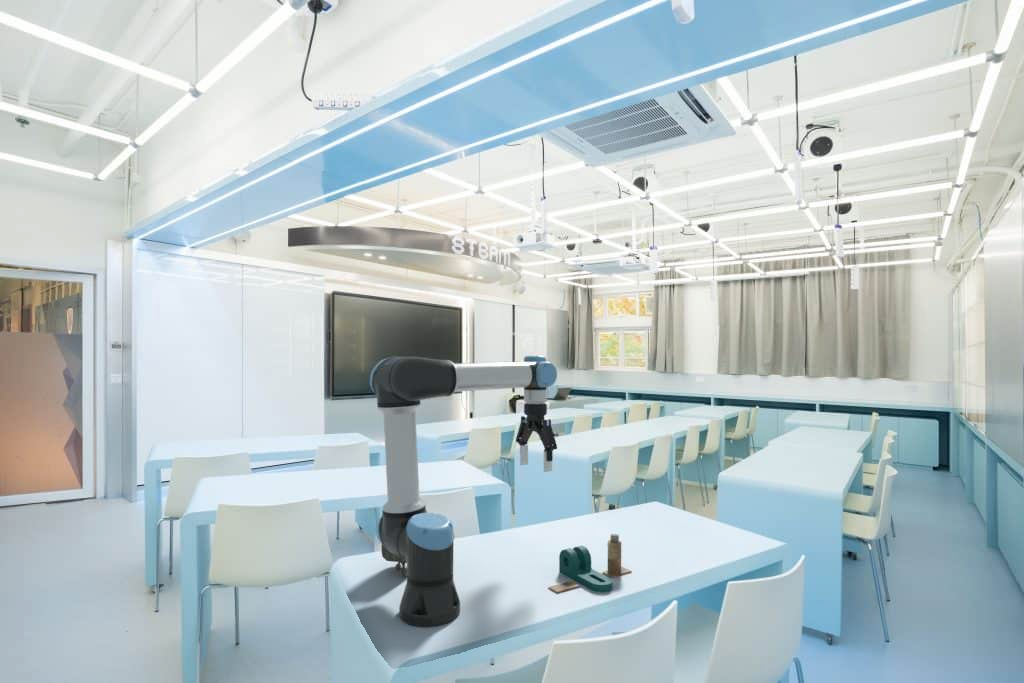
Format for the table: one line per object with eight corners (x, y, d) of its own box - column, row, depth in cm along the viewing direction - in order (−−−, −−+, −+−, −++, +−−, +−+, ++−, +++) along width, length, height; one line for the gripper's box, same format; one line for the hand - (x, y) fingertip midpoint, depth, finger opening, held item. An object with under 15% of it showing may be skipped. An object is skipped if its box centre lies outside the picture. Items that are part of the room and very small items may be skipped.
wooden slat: (557, 593, 147) (557, 591, 147) (548, 588, 151) (548, 586, 151) (631, 572, 162) (631, 570, 162) (622, 568, 166) (622, 566, 166)
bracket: (559, 573, 162) (559, 546, 162) (577, 569, 165) (576, 543, 166) (599, 595, 147) (599, 565, 147) (617, 589, 150) (617, 561, 151)
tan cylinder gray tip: (612, 575, 158) (613, 538, 159) (604, 571, 162) (605, 534, 162) (623, 573, 160) (624, 536, 160) (615, 569, 164) (615, 532, 164)
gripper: (568, 404, 169) (568, 473, 168) (524, 400, 190) (524, 461, 189) (548, 405, 165) (548, 475, 164) (505, 401, 186) (505, 463, 185)
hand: (535, 468), depth 176 cm, fingers open, 13 cm apart
